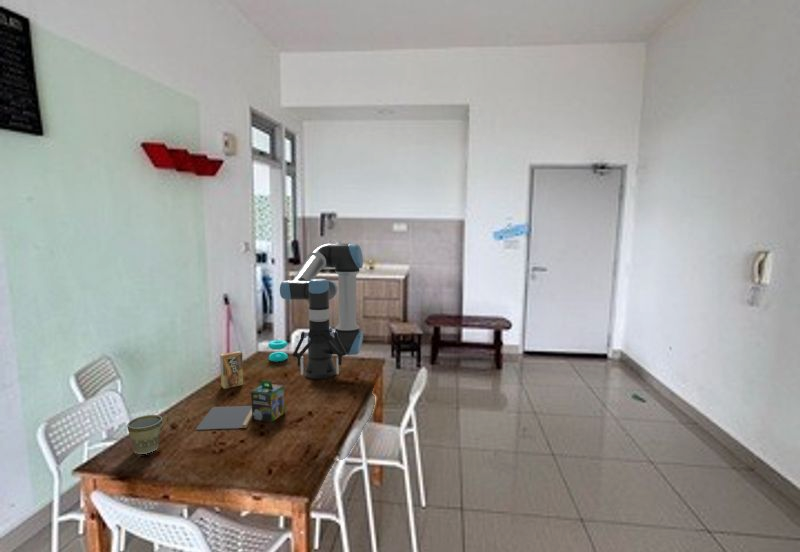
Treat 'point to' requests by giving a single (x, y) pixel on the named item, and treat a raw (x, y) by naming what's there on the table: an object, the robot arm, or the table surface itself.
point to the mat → (227, 418)
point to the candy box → (231, 369)
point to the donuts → (276, 346)
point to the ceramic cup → (145, 433)
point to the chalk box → (267, 402)
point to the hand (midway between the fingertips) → (319, 373)
